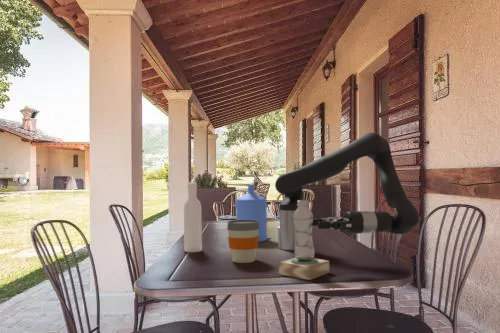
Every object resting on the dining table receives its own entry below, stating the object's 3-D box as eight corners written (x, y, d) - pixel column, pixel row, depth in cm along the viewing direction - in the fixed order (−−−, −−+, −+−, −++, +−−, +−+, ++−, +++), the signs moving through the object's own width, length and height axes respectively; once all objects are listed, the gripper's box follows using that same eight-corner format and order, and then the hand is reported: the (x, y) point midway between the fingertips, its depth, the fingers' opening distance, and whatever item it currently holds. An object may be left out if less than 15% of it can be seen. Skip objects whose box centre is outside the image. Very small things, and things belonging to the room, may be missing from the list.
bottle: (185, 253, 173) (184, 182, 174) (182, 249, 181) (181, 182, 181) (203, 251, 176) (203, 182, 176) (200, 248, 183) (199, 182, 184)
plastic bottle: (314, 262, 131) (312, 200, 132) (293, 262, 133) (291, 201, 133) (315, 258, 138) (313, 199, 138) (295, 258, 139) (293, 199, 139)
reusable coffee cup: (229, 264, 150) (228, 223, 150) (226, 257, 162) (225, 220, 162) (262, 263, 152) (262, 222, 152) (256, 256, 164) (256, 219, 164)
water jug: (267, 242, 197) (266, 185, 197) (235, 243, 197) (234, 185, 198) (266, 237, 212) (266, 184, 213) (236, 238, 213) (236, 184, 213)
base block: (279, 274, 134) (278, 261, 134) (299, 267, 143) (299, 255, 143) (309, 280, 126) (309, 266, 127) (329, 272, 135) (329, 259, 136)
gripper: (351, 209, 145) (308, 210, 143) (369, 213, 131) (321, 214, 129) (352, 230, 145) (308, 232, 143) (369, 236, 131) (321, 238, 129)
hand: (314, 223), depth 136 cm, fingers open, 8 cm apart
